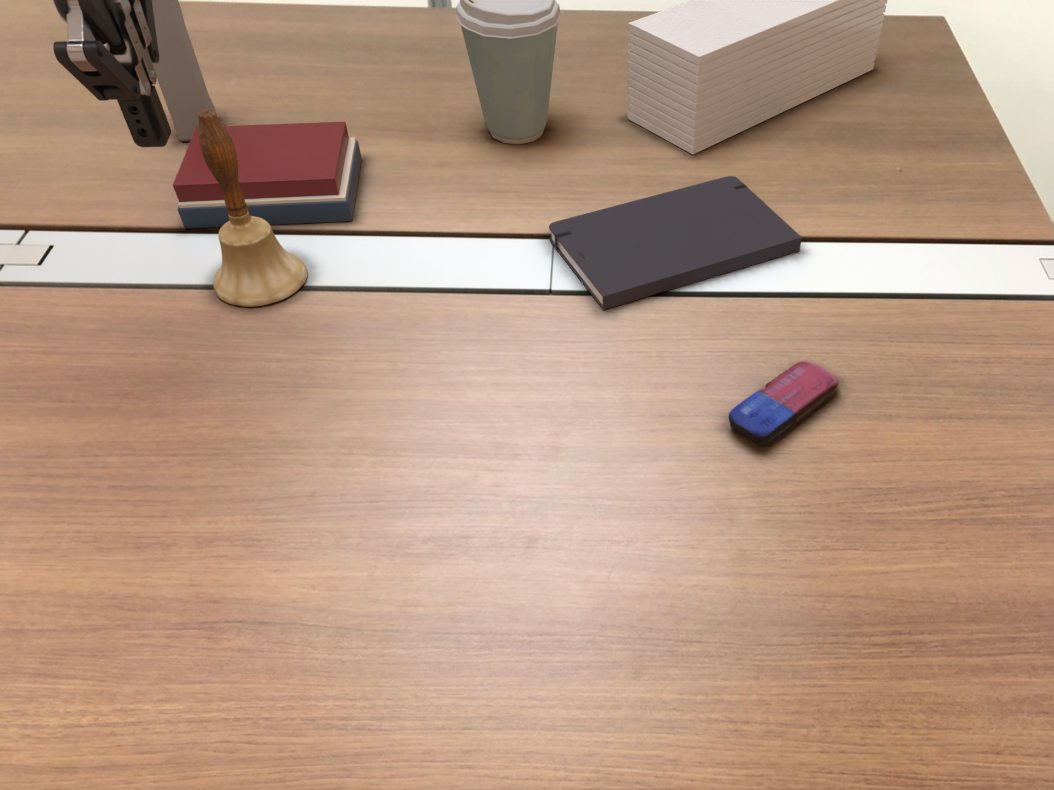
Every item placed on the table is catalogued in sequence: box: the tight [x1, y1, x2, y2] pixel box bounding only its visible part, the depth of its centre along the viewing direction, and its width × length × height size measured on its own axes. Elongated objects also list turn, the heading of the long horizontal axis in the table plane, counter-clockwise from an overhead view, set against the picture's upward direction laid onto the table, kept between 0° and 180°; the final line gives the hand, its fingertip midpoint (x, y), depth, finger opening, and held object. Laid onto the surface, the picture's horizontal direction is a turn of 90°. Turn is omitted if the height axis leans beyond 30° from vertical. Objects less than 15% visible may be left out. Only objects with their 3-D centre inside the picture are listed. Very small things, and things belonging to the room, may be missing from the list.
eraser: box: [728, 360, 840, 447], centre depth 75 cm, size 11×4×2 cm, turn 135°
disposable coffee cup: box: [455, 0, 562, 145], centre depth 99 cm, size 11×11×15 cm
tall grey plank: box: [152, 0, 218, 143], centre depth 94 cm, size 4×5×25 cm
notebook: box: [548, 175, 803, 311], centre depth 90 cm, size 13×2×21 cm
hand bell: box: [198, 109, 308, 308], centre depth 80 cm, size 8×8×16 cm
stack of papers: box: [627, 0, 888, 155], centre depth 108 cm, size 32×11×11 cm, turn 133°
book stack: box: [172, 121, 363, 230], centre depth 94 cm, size 12×16×4 cm
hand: (154, 141), depth 66 cm, fingers closed
